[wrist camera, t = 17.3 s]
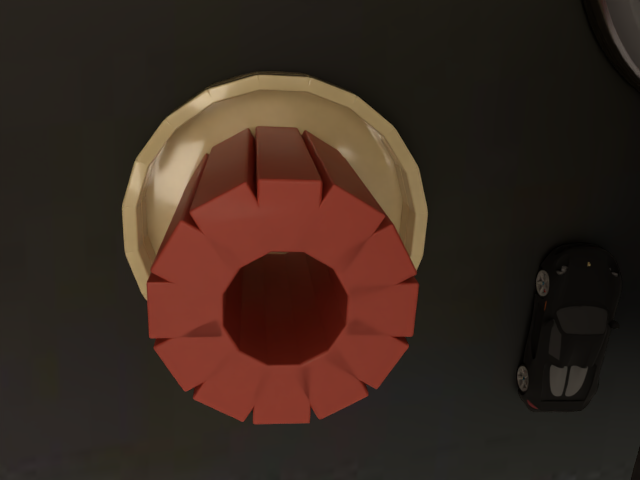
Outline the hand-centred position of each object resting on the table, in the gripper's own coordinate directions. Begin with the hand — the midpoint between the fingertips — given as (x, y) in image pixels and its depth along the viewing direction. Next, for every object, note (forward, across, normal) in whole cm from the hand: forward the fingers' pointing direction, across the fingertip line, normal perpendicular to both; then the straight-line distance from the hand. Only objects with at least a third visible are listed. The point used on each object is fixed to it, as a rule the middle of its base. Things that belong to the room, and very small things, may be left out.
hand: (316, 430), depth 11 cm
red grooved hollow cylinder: (+13, 0, 0) cm, 13 cm away
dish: (+14, 0, 0) cm, 14 cm away
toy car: (+14, +13, -5) cm, 20 cm away
